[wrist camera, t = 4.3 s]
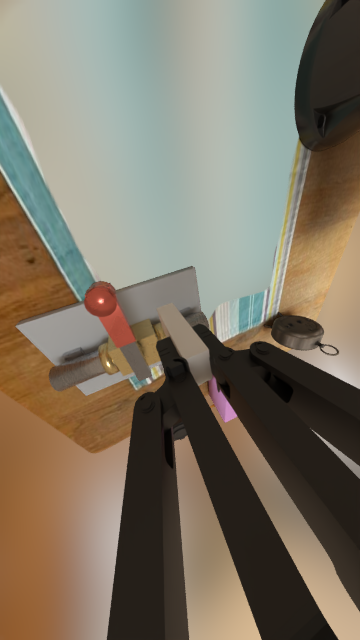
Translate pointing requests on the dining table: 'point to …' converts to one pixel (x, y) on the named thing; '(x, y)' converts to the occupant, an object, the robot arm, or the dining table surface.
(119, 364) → the valve body
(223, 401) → the pink toy block
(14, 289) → the dining table surface
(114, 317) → the lever
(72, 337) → the mount board
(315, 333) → the alarm clock
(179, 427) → the coffee cup
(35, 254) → the dining table surface
